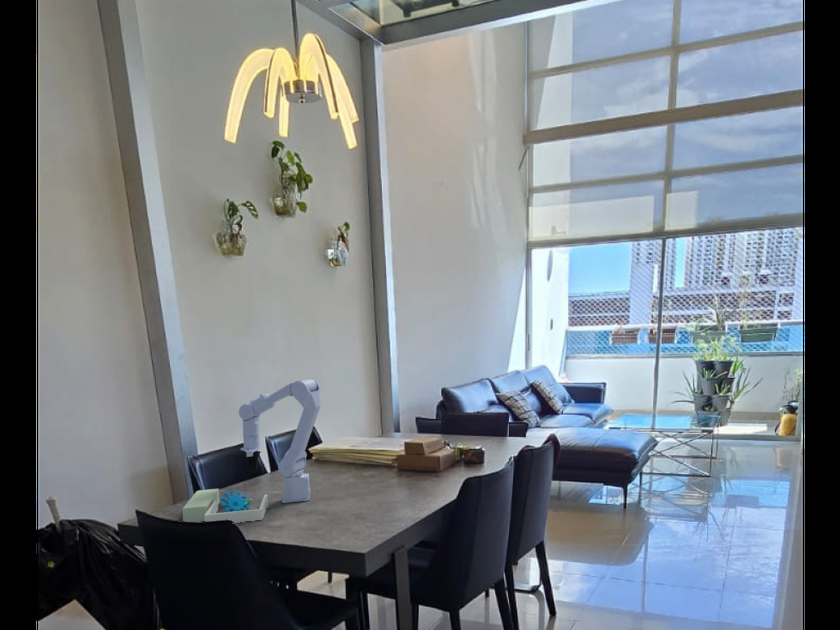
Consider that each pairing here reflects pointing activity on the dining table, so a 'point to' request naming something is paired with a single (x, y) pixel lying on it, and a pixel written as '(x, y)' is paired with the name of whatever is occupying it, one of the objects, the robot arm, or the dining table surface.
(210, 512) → the shallow white tray
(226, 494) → the gear
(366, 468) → the dining table surface
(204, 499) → the pale green rounded block
